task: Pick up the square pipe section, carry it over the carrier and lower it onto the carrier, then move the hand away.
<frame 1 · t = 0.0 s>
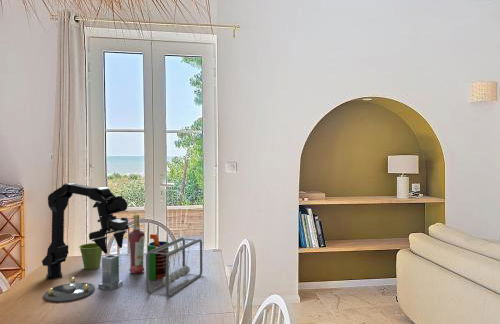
hand: (113, 250, 163), 15 cm above the table, tool pointing down, fingers open, 9 cm apart
liquor: (136, 272, 182), on the table
newton's cradle: (176, 285, 166), on the table
plant pot: (92, 268, 190), on the table
carrier: (70, 292, 156), on the table
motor: (157, 277, 176), on the table
square pipe section: (110, 286, 164), on the table
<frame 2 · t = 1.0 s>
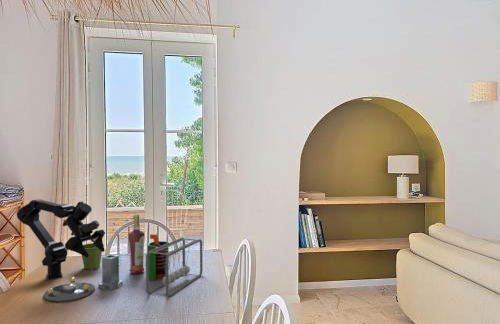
hand: (96, 254, 166), 13 cm above the table, tool tilted 45°, fingers open, 9 cm apart
nothing on the table moved.
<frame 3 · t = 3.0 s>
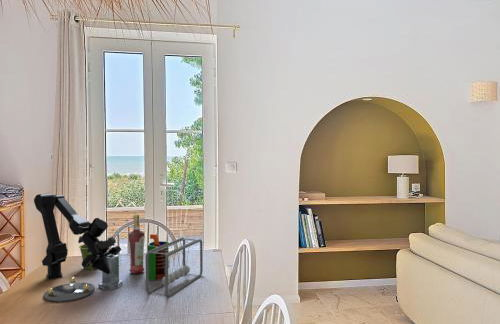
hand: (113, 271, 163), 7 cm above the table, tool tilted 45°, fingers closed on square pipe section, 5 cm apart
square pipe section: (110, 286, 164), on the table, touching gripper
everything else where it was.
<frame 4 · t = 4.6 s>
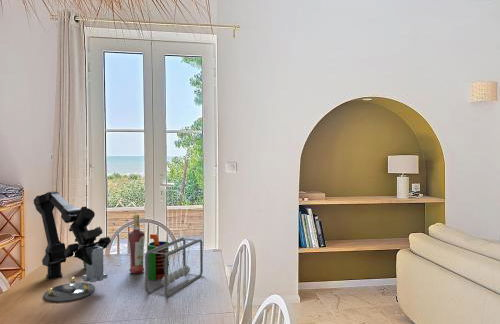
hand: (96, 263, 156), 12 cm above the table, tool tilted 45°, fingers closed on square pipe section, 5 cm apart
square pipe section: (94, 278, 157), point 6 cm above the table, touching gripper
everything else where it was.
when the fingers open (9 cm above the table, at t = 6.2 s): square pipe section stays where it is, resting on carrier.
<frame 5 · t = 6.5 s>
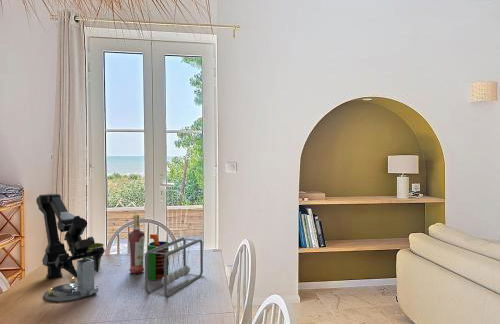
hand: (87, 274, 153), 9 cm above the table, tool tilted 45°, fingers open, 8 cm apart
square pipe section: (86, 292, 154), point 1 cm above the table, touching carrier
everything else where it was.
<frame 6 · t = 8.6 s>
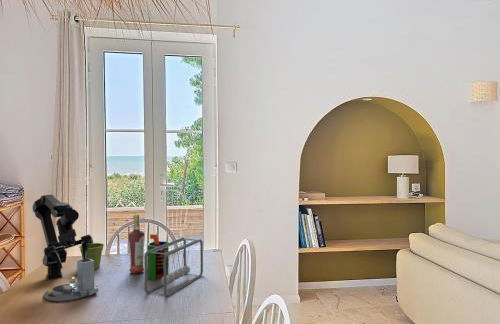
hand: (73, 264, 159), 11 cm above the table, tool tilted 30°, fingers open, 9 cm apart
nothing on the table moved.
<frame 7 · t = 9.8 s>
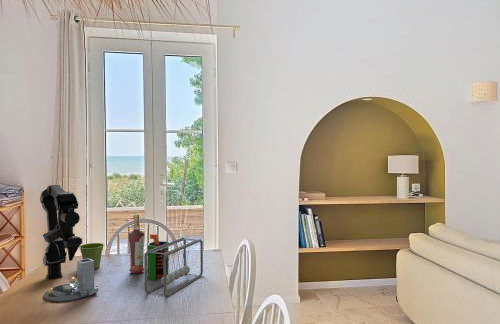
hand: (66, 258, 160), 13 cm above the table, tool pointing down, fingers open, 9 cm apart
nothing on the table moved.
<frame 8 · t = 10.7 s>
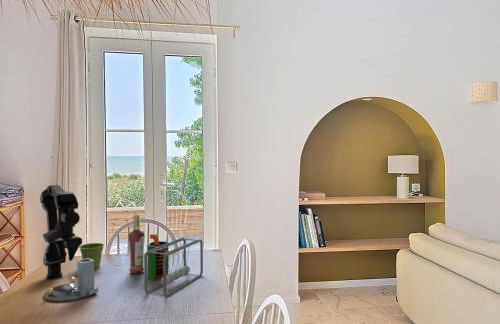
hand: (66, 258, 160), 13 cm above the table, tool pointing down, fingers open, 9 cm apart
nothing on the table moved.
at the end: square pipe section 0.1 cm from the target spot on the carrier, point 1.0 cm above the carrier's base; square pipe section tilted 0°; the gripper is holding nothing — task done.
